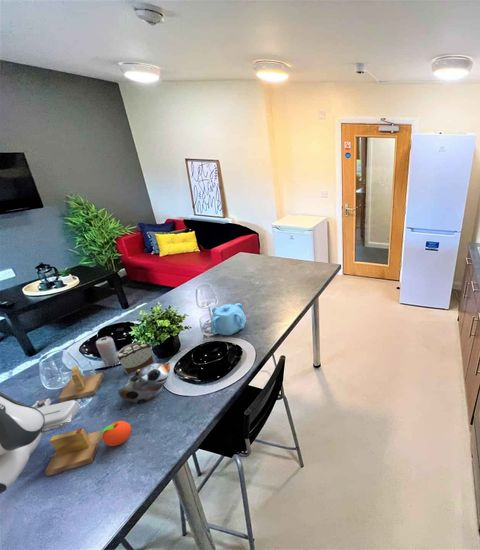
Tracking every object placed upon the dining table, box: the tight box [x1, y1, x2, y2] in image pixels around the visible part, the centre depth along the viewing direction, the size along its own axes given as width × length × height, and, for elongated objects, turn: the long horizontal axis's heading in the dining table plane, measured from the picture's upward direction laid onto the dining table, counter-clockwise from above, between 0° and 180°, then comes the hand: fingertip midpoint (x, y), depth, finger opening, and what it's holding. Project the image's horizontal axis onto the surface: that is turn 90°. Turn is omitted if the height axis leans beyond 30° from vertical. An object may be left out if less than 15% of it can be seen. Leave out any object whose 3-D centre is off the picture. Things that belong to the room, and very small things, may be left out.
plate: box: [57, 372, 105, 403], centre depth 110 cm, size 11×10×2 cm
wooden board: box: [44, 429, 104, 477], centre depth 87 cm, size 11×10×2 cm
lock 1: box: [49, 428, 91, 456], centre depth 85 cm, size 7×2×7 cm, turn 115°
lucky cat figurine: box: [117, 361, 171, 404], centre depth 108 cm, size 15×12×14 cm
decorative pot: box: [210, 302, 247, 336], centre depth 146 cm, size 16×16×14 cm
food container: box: [116, 341, 155, 376], centre depth 120 cm, size 12×6×10 cm, turn 144°
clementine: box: [97, 420, 132, 447], centre depth 90 cm, size 8×7×7 cm
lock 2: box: [71, 365, 84, 391], centre depth 108 cm, size 7×2×7 cm, turn 43°
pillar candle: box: [95, 336, 120, 367], centre depth 121 cm, size 5×5×12 cm
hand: (44, 401), depth 94 cm, fingers closed
